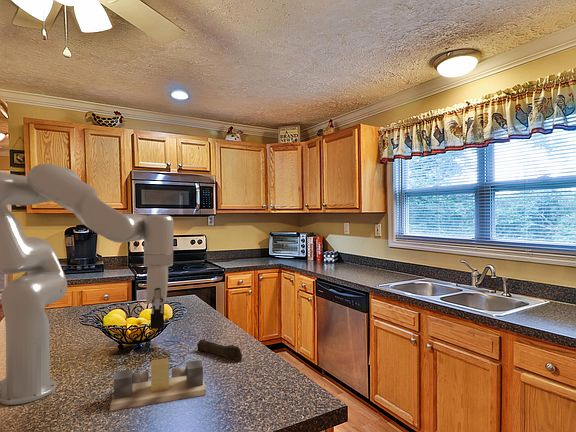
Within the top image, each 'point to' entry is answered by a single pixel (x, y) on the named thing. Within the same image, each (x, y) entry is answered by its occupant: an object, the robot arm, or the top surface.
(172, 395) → the shaft mount
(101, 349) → the top surface
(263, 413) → the top surface
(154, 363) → the yellow rectangular block
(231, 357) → the hand tool
